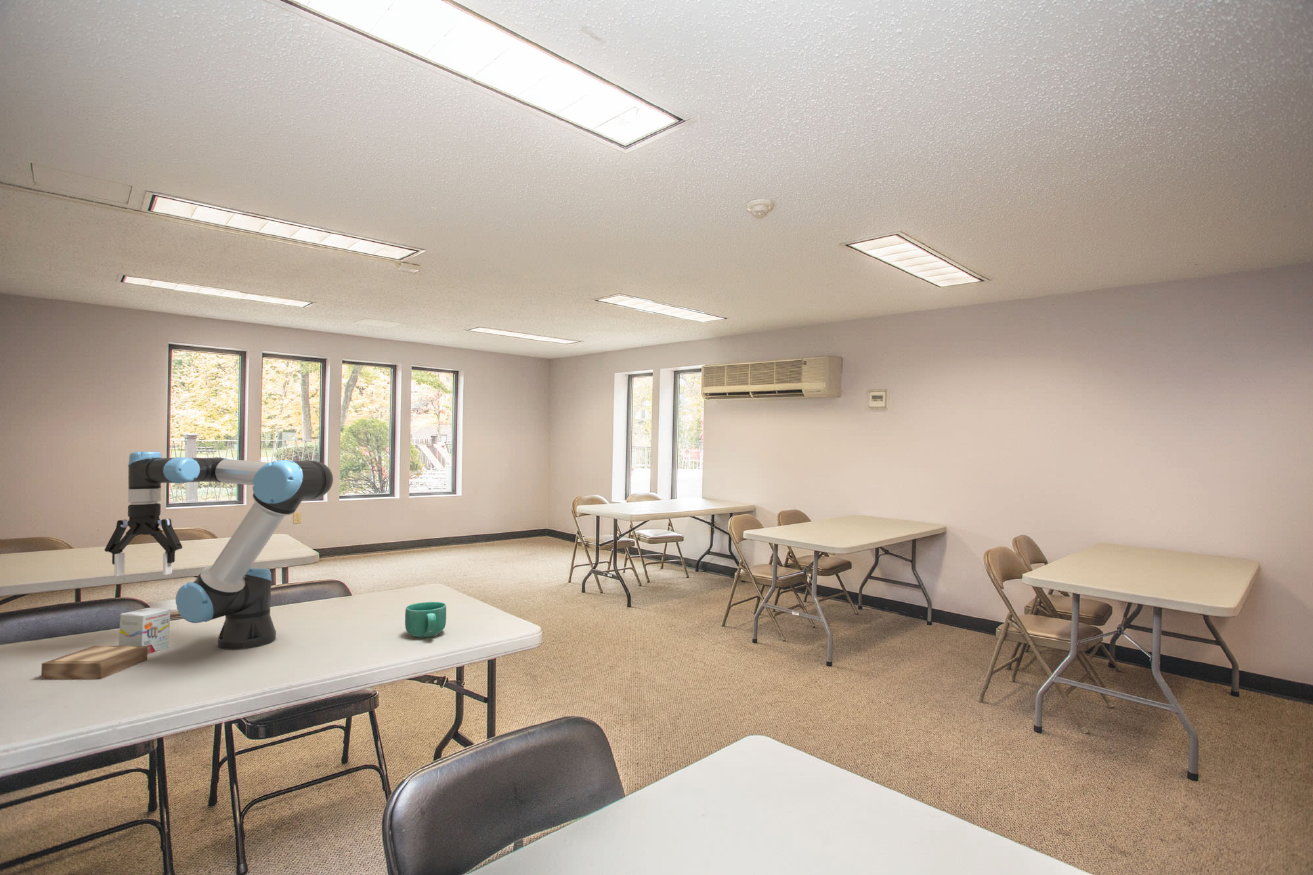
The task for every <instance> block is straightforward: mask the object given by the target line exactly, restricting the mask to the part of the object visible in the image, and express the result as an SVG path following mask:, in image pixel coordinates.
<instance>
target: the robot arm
mask: <svg viewBox="0 0 1313 875" xmlns="http://www.w3.org/2000/svg"><path fill="white" fill-rule="evenodd" d="M127 467H128V468H127V469H128V482H127V484H128V486H127V488H128V489H127V490H128V491H127V502H128V506H127V516H128V517H129V518H128V519H119V520H117V521H116V526H115V529H114V531H113V533H112V535H111V536H110V539H109V541H108V542H107V544H106V546H105V547H104V552H106V553H107V552H108V553H111V557H112V559H111V564H112V565H114V572H113V574H114V575H113V576H114V577H121V576H124V575H125V562H126V561H125V560H126V559H125V556H126V554H125V552H124V549H126V547H127V546H129V544H130V543H131V541H132V540H134V538H136V536H140V535H145V536H147V535H149V536H151V537H153V538H154V540H156V542H157V543H158V544H159V545H160V546H161V547H162V549H163V550H164V552H163V553H162V576H167V575H171V574H173V563H175V561H176V551H178V550H182V549H183V545H182V543H181V541H180V539H179V537H178V535H177V533H176V531H175V529H174V528H173V524H172V519H171V518H163V519H160V516H161V505H162V504H161V503H159V502H160V501H162V500H161V499H162V498H161V497H162V496H161V495H162V494H161V492H162V491H161V490H162V485H161V484H187V483H202V482H206V483H209V482H211V483H220V484H221V483H223V484H235V485H246V486H252V492H253V494H252V500H253V501H254V503H253V504H252V505H251V507H250V508H249V510H248V512H247V513H246V514H245V516H244V517H243V519H242V520H241V522H240V523H239V525H238V526H237V528H236V529H235V530H234V532H233V534H232V535H231V537H230V539H229V540H228V541H227V543H226V544H225V546H224V547H223V549H222V551H221V552H220V554H219V555H218V556H217V558H216V559H215V561H214V563H212V565H208V566H206V567H204V568H203V569H202V570H201V571H200V572H199V574H198V575H197V577H196V579H195V580H194V581H191V582H187V583H185V584H183V585H181V586H180V587H179V588H178V590H177V592H176V595H175V605H176V609H177V611H178V614H179V616H181V618H182V619H184V620H185V621H187V622H188V623H192V624H200V623H207V622H210V621H212V620H216V619H218V618H222V617H225V619H224V622H223V625H222V628H221V630H220V633H219V635H218V637H217V647H218V649H223V650H242V649H244V650H245V649H251V648H257V647H261V646H264V645H268V644H270V643H272V642H274V641H275V640H276V639H277V631H276V628H275V625H274V622H273V620H272V617H271V600H272V599H271V594H272V582H273V580H272V572H271V571H270V569H269V568H266V567H252V566H253V564H254V563H255V561H256V560H257V559H258V557H259V556H260V554H261V552H262V551H263V549H264V548H265V546H266V545H267V543H268V542H269V541H270V539H271V538H272V536H273V535H274V533H275V531H276V530H277V529H278V527H279V525H280V524H281V523H282V521H283V519H284V518H286V516H291V515H292V514H294V513H295V512H296V511H297V509H298V507H299V505H301V503H302V502H303V501H309V500H316V499H319V498H322V497H323V496H325V495H326V494H327V493H328V492H329V491H330V490H331V488H332V486H333V483H334V475H333V472H332V470H331V469H330V467H329V466H327V465H326V464H325V463H323V462H320V461H317V460H288V459H281V460H276V461H270V462H265V461H264V462H263V461H254V460H242V459H229V458H226V457H219V456H218V457H185V456H181V457H180V456H179V457H178V456H177V457H162V452H159V451H132V452H131V453H130V454H129V457H128V464H127ZM129 503H130V504H129ZM159 526H160V527H161V528H162V529H161V528H160V527H159ZM128 527H129V529H128V530H127V528H128ZM123 535H124V536H123Z"/></svg>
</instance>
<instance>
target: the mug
mask: <svg viewBox="0 0 1313 875" xmlns="http://www.w3.org/2000/svg"><path fill="white" fill-rule="evenodd" d="M404 612H405V614H404V627H405V628H404V629H405V631H406V632H407V633H408V634H409V635H410V636H412V637H414V638H417V639H427V638H433V637H435V636H437V635H438V634H439V633H441V632H442V631H444V629H445V627H446V625H447V604H446V603H445V602H441V601H423V602H417V603H412V604H409V605H406V607H405V611H404Z"/></svg>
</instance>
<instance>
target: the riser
mask: <svg viewBox="0 0 1313 875" xmlns="http://www.w3.org/2000/svg"><path fill="white" fill-rule="evenodd" d="M147 651H148V646H119V645H92V646H89V647H87V648H83V649H80V650H77V651H74V652H72V653H69V654H65V655H63V656H60V657H57V658H53V659H51V660H48V661H46V662H45V661H44V662H42V663H41V671H40V672H41V675H40V679H41V680H103V679H104V678H107V677H109V676H112V675H114V674H116V673H119V672H121V671H124V670H126V669H129V668H132V667H133V666H136V665H138V664H141V663H144V662H146V661H148V654H147Z"/></svg>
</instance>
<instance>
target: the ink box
mask: <svg viewBox="0 0 1313 875" xmlns="http://www.w3.org/2000/svg"><path fill="white" fill-rule="evenodd" d="M119 616H120V617H119V634H118V637H119V638H118V646H148V651H147V655H149V654H153V653H156V652H158V651H159V652H160V651H162V650H164V649H165V650H166V649H168V648H170V647H169V645H170V626H171V622H170V621H171V609H167V608H159V607H145V608H142V609H141V608H140V609H137V610H131V611H128V612H121V613H120V614H119Z"/></svg>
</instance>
